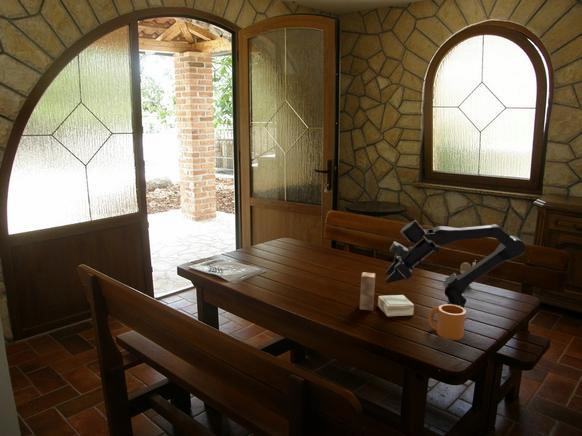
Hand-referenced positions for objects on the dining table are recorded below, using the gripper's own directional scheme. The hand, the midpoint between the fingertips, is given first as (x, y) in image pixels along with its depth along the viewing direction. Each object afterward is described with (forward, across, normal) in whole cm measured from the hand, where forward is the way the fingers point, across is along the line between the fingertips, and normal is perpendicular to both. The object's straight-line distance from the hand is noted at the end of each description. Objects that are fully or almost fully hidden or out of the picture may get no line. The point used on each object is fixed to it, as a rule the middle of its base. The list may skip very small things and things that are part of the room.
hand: (386, 277), depth 178 cm
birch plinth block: (+6, 0, +12) cm, 13 cm away
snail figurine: (-16, -36, +34) cm, 52 cm away
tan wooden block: (+14, 0, +4) cm, 14 cm away
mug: (-6, +15, +24) cm, 29 cm away
